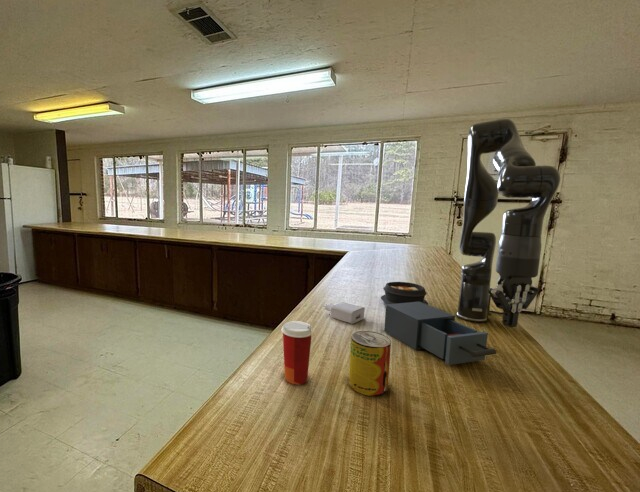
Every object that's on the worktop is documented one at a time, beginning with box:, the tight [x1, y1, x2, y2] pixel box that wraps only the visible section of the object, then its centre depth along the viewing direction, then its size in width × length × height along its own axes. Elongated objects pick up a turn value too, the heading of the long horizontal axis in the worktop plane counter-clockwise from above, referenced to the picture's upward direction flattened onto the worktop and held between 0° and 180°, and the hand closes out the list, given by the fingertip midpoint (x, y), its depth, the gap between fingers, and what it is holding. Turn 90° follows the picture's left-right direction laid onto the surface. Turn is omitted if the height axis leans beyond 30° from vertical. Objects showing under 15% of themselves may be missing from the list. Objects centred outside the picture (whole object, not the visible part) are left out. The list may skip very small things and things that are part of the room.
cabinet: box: [383, 302, 456, 351], centre depth 104 cm, size 15×14×10 cm
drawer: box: [418, 319, 498, 366], centre depth 91 cm, size 18×12×8 cm
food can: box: [348, 330, 392, 397], centre depth 77 cm, size 9×9×12 cm
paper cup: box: [280, 320, 314, 386], centre depth 80 cm, size 8×8×14 cm
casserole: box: [380, 281, 429, 306], centre depth 138 cm, size 25×19×8 cm
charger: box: [322, 301, 366, 325], centre depth 124 cm, size 5×9×15 cm
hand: (509, 326), depth 76 cm, fingers closed
